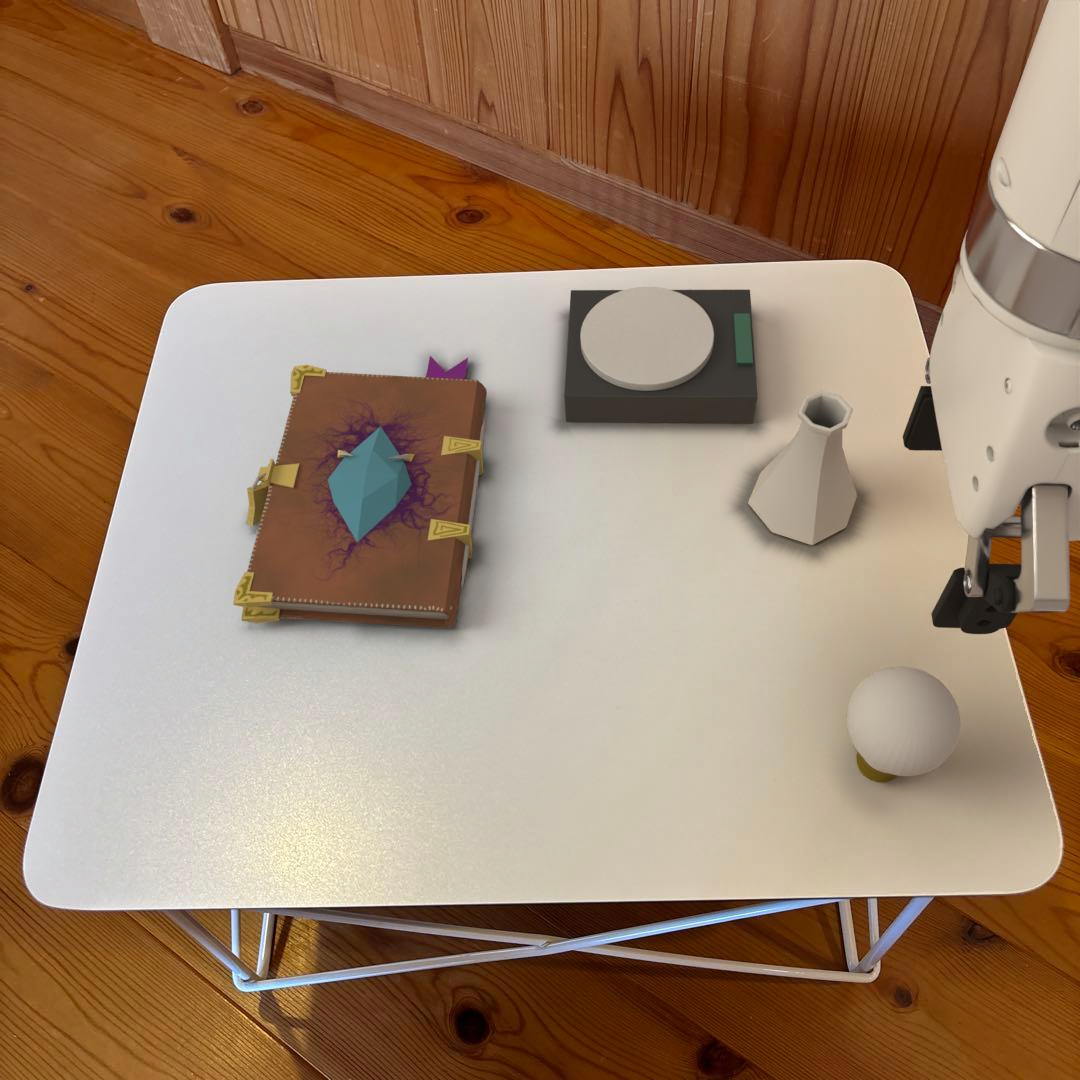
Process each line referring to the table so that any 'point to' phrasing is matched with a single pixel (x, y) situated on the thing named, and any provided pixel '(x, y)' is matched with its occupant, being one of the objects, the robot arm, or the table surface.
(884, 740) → the light bulb
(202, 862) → the table surface
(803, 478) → the flask
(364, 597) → the book
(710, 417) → the scale
